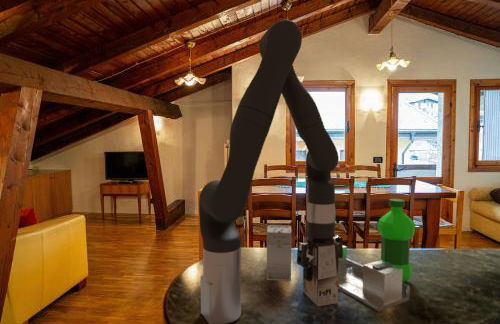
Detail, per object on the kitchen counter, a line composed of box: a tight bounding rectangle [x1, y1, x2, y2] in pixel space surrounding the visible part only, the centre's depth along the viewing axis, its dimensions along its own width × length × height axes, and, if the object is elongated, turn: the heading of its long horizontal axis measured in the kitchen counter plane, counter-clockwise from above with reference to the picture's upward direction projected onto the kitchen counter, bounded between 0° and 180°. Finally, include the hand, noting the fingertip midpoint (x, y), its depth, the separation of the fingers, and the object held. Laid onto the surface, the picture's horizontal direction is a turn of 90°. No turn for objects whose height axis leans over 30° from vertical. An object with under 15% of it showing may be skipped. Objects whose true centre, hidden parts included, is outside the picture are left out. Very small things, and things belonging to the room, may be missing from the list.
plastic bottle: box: [376, 198, 416, 283], centre depth 99 cm, size 10×10×25 cm
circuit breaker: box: [266, 224, 292, 282], centre depth 106 cm, size 8×14×15 cm, turn 174°
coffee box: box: [302, 236, 339, 307], centre depth 89 cm, size 9×6×16 cm
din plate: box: [338, 245, 411, 312], centre depth 97 cm, size 12×28×10 cm, turn 29°
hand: (320, 276), depth 89 cm, fingers open, 8 cm apart
